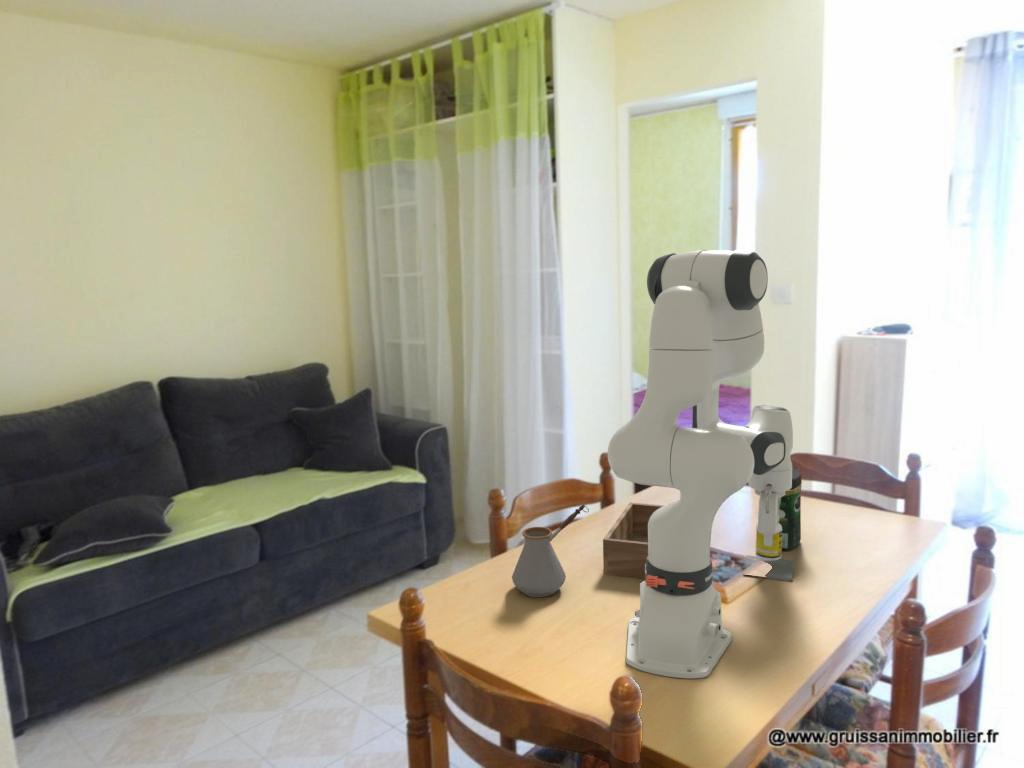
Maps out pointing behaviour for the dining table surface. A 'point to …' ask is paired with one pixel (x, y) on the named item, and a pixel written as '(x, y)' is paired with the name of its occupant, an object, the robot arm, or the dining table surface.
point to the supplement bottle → (769, 551)
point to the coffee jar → (791, 513)
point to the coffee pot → (540, 561)
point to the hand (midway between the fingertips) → (769, 539)
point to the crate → (628, 542)
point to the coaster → (778, 568)
